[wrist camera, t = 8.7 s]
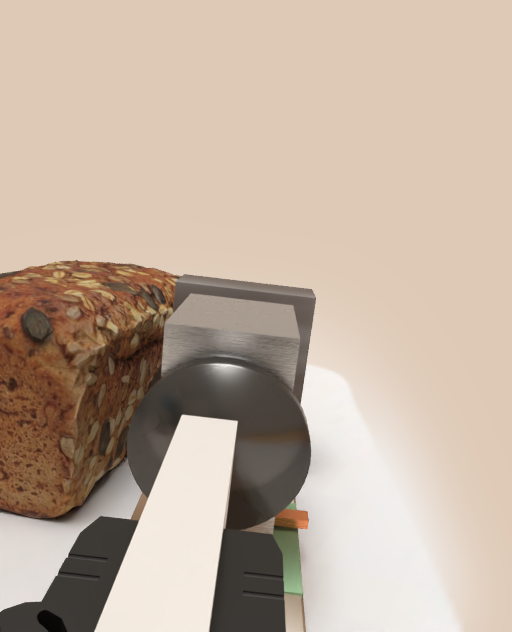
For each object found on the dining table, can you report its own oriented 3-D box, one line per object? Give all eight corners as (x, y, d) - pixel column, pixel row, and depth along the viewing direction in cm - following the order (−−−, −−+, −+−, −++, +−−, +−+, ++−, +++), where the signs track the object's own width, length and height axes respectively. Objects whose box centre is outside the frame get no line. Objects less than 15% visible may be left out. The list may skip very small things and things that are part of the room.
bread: (73, 539, 20) (78, 311, 17) (-140, 486, 21) (-163, 272, 19) (202, 383, 38) (213, 260, 35) (81, 360, 39) (84, 242, 37)
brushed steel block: (312, 594, 16) (354, 352, 14) (120, 571, 16) (132, 326, 14) (301, 494, 22) (330, 309, 20) (158, 477, 22) (172, 291, 20)
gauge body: (340, 1299, 6) (526, 757, 4) (-160, 1236, 6) (-279, 659, 4) (287, 456, 28) (312, 289, 25) (171, 442, 28) (184, 274, 25)
